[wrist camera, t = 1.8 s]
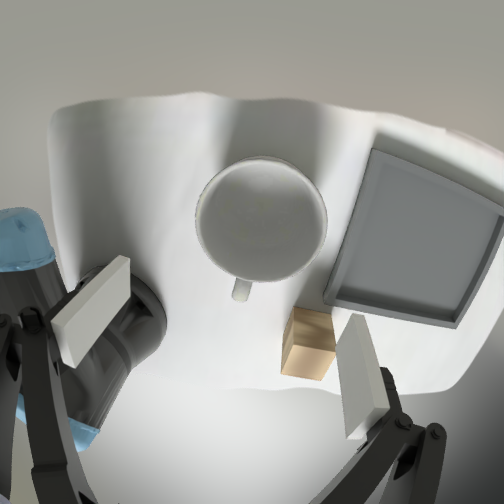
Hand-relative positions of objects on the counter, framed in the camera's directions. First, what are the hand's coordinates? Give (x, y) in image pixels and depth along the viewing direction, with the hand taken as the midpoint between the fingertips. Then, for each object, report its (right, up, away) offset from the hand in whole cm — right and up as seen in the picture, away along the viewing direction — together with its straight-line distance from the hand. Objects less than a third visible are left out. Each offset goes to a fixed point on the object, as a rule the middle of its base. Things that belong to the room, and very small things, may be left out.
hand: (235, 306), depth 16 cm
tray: (+22, +3, +14) cm, 26 cm away
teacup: (+2, +7, +15) cm, 17 cm away
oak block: (+8, -6, +20) cm, 23 cm away
